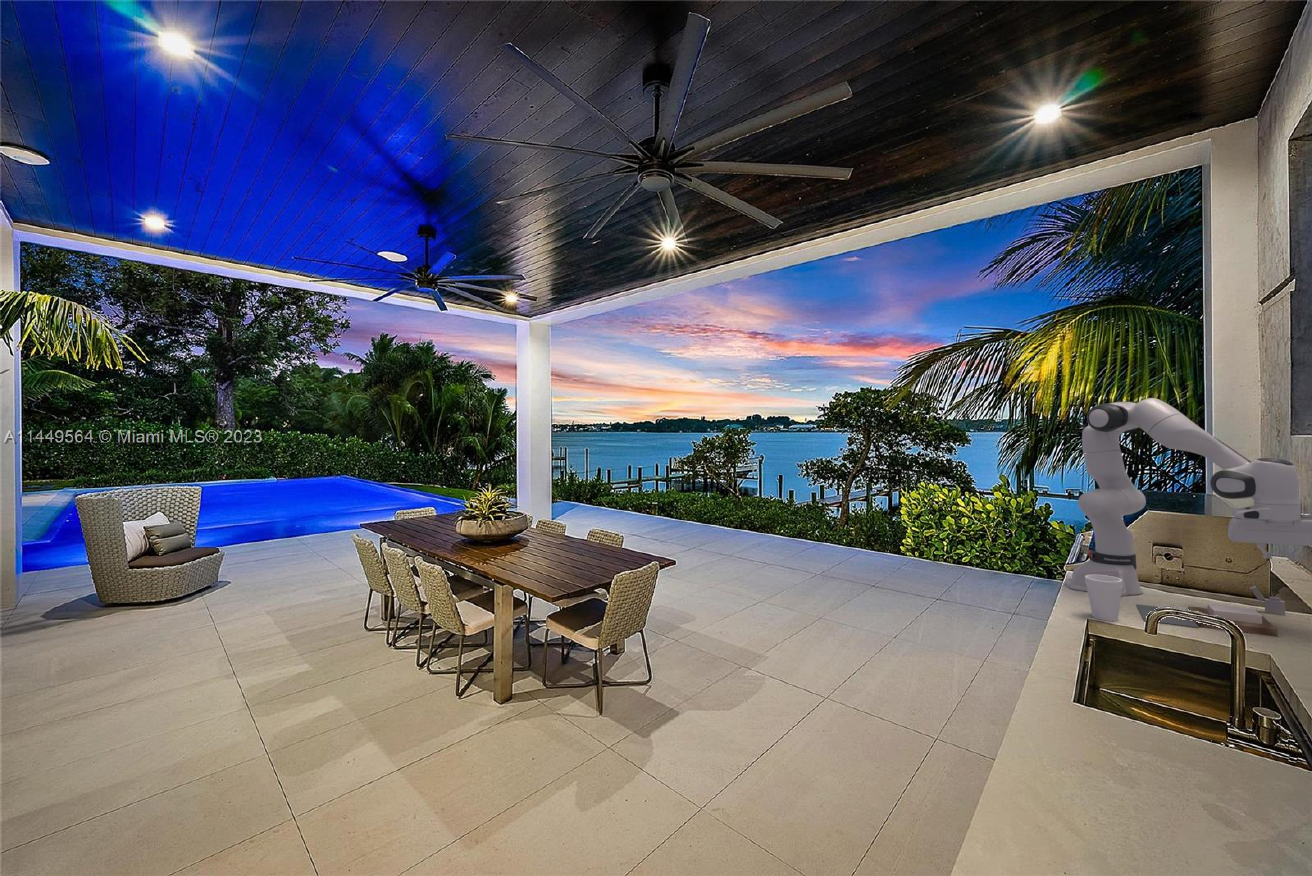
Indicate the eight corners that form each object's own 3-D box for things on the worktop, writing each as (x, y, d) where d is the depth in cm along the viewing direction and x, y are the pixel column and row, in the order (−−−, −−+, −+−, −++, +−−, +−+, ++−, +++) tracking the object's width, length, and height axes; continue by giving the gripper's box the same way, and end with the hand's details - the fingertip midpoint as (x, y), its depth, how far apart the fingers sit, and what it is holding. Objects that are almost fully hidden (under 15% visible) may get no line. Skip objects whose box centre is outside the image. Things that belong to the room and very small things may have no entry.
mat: (1144, 621, 166) (1144, 620, 166) (1136, 605, 180) (1136, 604, 180) (1198, 628, 158) (1198, 626, 158) (1185, 610, 173) (1185, 609, 173)
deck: (1198, 626, 159) (1198, 620, 159) (1188, 612, 171) (1187, 606, 171) (1277, 636, 150) (1277, 629, 150) (1260, 620, 162) (1260, 614, 162)
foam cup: (1113, 624, 165) (1111, 583, 165) (1080, 616, 173) (1078, 577, 173) (1131, 619, 168) (1128, 579, 168) (1097, 611, 177) (1095, 573, 177)
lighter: (1285, 614, 165) (1283, 589, 166) (1285, 615, 164) (1283, 590, 164) (1251, 609, 171) (1250, 585, 171) (1251, 610, 170) (1249, 586, 170)
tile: (1213, 618, 160) (1213, 610, 160) (1208, 611, 166) (1207, 604, 166) (1262, 624, 154) (1261, 615, 154) (1254, 616, 160) (1254, 608, 160)
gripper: (1327, 512, 150) (1330, 560, 150) (1225, 510, 163) (1227, 553, 163) (1337, 516, 145) (1340, 565, 145) (1230, 512, 158) (1233, 558, 158)
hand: (1279, 559), depth 154 cm, fingers open, 3 cm apart
